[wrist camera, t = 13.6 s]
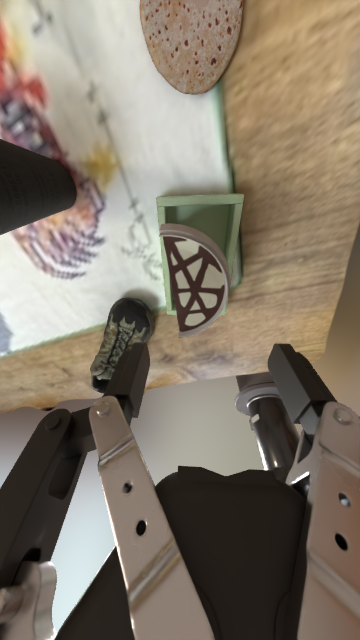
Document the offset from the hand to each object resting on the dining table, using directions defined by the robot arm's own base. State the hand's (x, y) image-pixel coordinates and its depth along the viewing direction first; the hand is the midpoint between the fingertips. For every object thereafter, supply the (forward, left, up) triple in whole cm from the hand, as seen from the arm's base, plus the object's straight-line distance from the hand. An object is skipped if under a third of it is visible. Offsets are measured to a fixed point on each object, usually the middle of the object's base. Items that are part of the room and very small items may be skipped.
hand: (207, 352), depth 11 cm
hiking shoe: (-15, +14, -18) cm, 27 cm away
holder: (0, 0, -18) cm, 18 cm away
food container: (0, 0, -18) cm, 18 cm away
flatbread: (+19, +1, -18) cm, 26 cm away
